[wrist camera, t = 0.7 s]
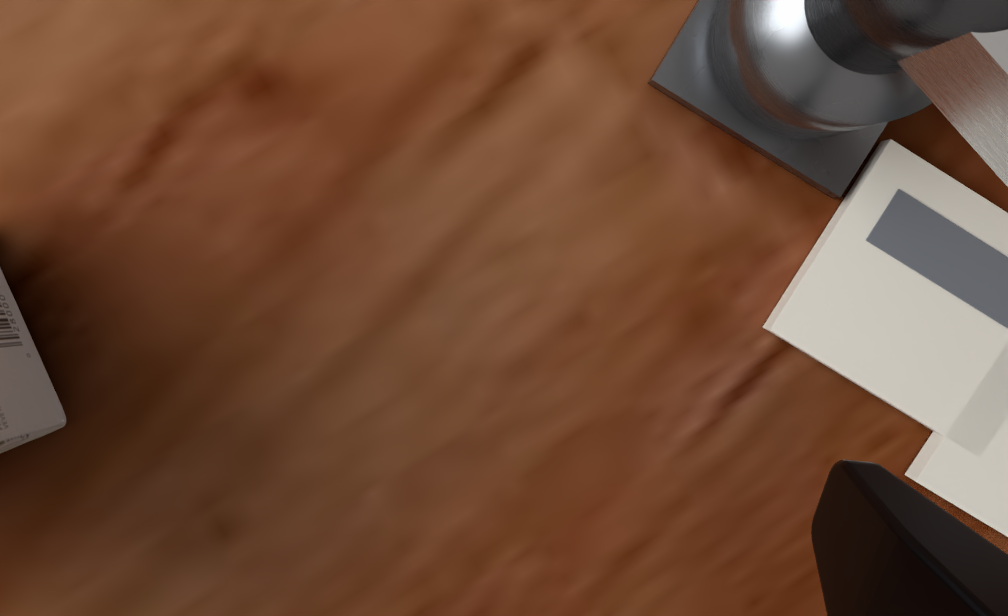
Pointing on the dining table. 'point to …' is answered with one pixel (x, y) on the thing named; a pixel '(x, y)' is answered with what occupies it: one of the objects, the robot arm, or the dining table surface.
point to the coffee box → (23, 381)
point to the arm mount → (781, 89)
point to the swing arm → (930, 57)
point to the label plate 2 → (968, 475)
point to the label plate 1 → (910, 297)
